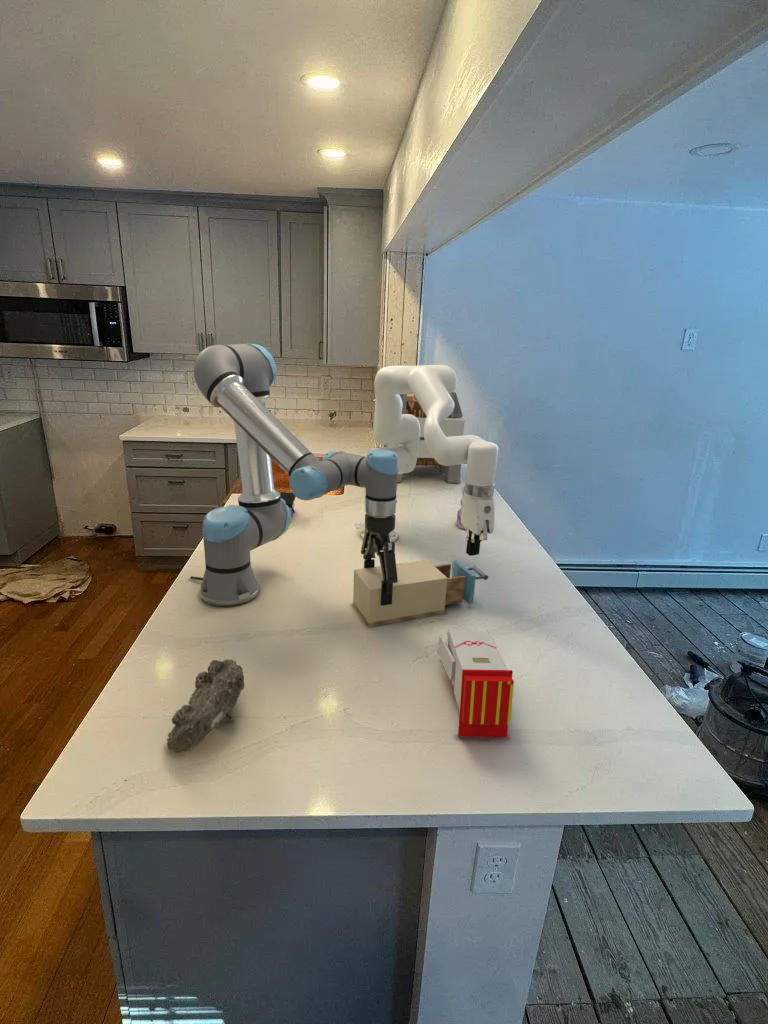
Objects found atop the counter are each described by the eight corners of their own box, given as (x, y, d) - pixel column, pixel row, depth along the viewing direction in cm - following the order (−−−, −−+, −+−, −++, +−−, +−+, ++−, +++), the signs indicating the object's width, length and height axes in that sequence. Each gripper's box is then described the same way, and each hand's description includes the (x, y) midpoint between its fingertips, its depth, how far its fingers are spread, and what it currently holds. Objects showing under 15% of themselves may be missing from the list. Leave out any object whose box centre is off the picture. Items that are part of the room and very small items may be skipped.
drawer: (470, 584, 163) (473, 557, 160) (489, 600, 154) (492, 573, 151) (389, 596, 154) (391, 569, 151) (405, 615, 145) (407, 586, 142)
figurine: (464, 531, 204) (468, 492, 199) (448, 522, 212) (452, 484, 207) (485, 528, 208) (490, 489, 203) (469, 519, 217) (473, 481, 212)
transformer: (382, 463, 289) (386, 382, 275) (445, 464, 293) (451, 384, 279) (390, 482, 257) (394, 392, 243) (460, 483, 261) (468, 394, 247)
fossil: (192, 660, 117) (244, 628, 112) (224, 691, 120) (276, 661, 115) (142, 746, 98) (202, 712, 93) (182, 779, 101) (242, 748, 96)
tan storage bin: (424, 593, 159) (427, 559, 155) (444, 613, 149) (447, 577, 145) (352, 604, 151) (353, 569, 148) (368, 626, 141) (369, 589, 137)
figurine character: (292, 527, 205) (297, 509, 218) (292, 508, 201) (297, 491, 215) (273, 526, 205) (280, 508, 218) (273, 507, 201) (279, 490, 215)
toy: (488, 613, 130) (523, 677, 101) (484, 667, 133) (517, 744, 104) (435, 612, 130) (455, 676, 101) (432, 666, 133) (451, 743, 103)
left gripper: (415, 529, 129) (409, 613, 137) (376, 497, 150) (373, 571, 157) (384, 533, 127) (381, 618, 134) (349, 499, 147) (348, 575, 155)
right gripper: (507, 497, 142) (499, 563, 148) (476, 480, 155) (470, 542, 161) (481, 499, 139) (474, 567, 145) (452, 482, 152) (447, 545, 158)
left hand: (377, 593), depth 146 cm, fingers closed on tan storage bin, 12 cm apart
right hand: (472, 553), depth 153 cm, fingers closed
